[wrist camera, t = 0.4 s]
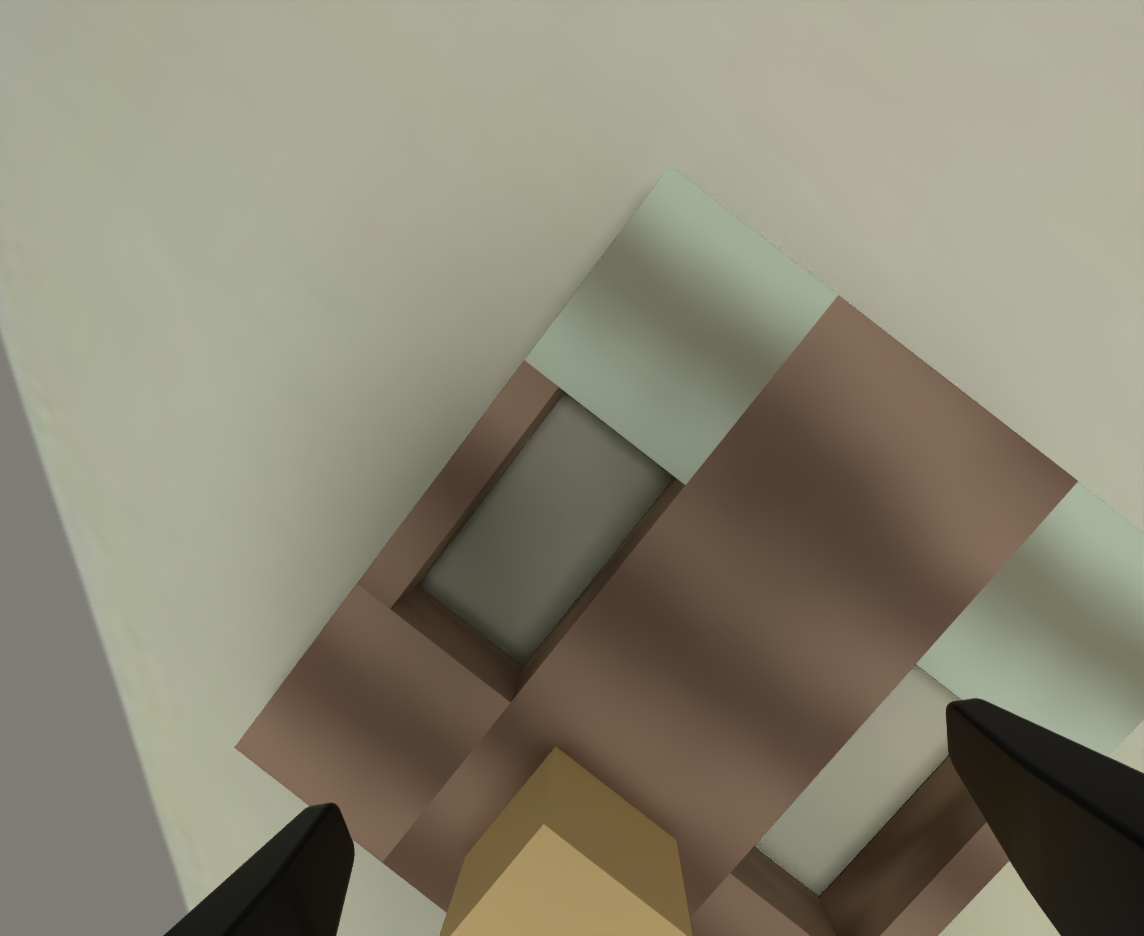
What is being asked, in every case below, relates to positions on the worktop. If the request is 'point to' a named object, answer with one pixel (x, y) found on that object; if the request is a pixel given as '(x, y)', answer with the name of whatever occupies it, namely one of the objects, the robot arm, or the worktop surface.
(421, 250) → the worktop surface
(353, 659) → the trap board
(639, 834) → the ochre block
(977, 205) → the worktop surface
